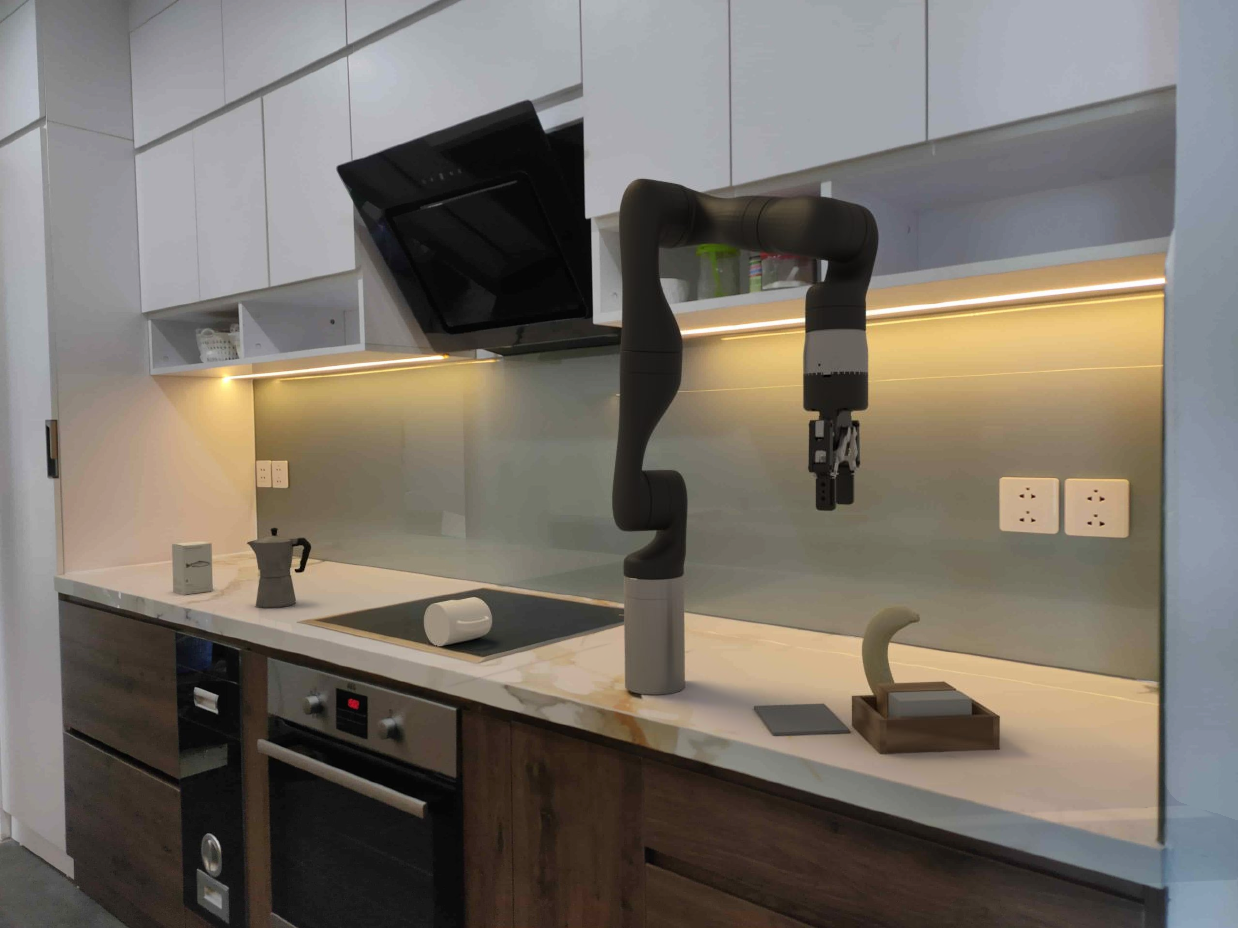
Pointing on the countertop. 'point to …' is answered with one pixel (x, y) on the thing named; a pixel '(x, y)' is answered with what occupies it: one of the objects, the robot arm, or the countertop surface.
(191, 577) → the supplement box
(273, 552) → the coffeepot
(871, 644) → the fruit
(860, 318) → the robot arm
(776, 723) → the mat
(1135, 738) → the countertop surface
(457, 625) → the mug
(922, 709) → the offcut grey
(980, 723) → the wooden tray
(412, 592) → the countertop surface
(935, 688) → the offcut teak
